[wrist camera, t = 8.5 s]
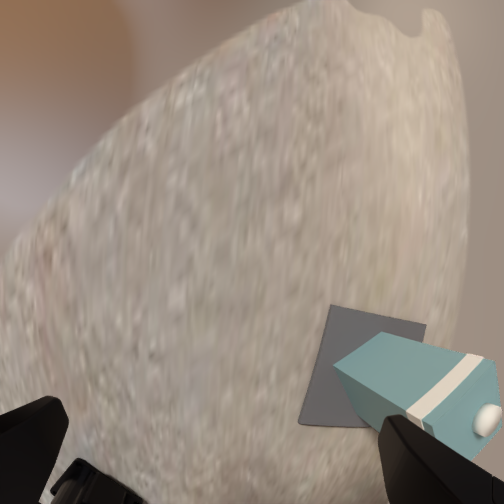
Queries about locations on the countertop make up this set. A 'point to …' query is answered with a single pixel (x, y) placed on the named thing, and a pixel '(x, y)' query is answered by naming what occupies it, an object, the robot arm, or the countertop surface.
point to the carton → (425, 390)
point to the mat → (336, 348)
